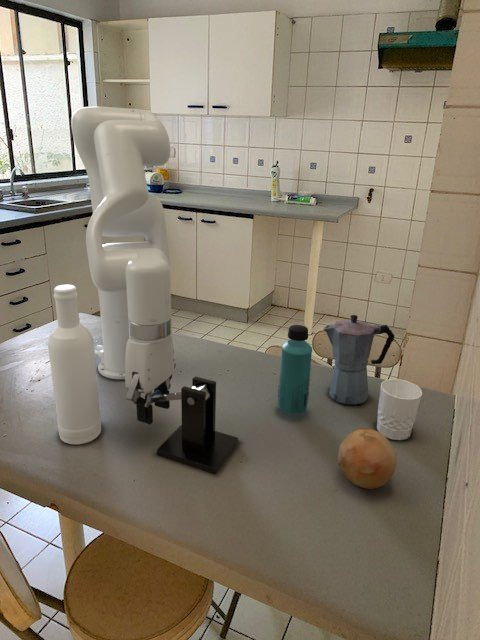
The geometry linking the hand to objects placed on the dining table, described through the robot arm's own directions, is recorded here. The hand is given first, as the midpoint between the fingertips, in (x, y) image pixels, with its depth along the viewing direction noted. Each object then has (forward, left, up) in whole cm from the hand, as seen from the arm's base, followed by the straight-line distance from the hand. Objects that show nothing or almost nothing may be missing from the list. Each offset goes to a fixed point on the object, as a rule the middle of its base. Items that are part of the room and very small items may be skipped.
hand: (153, 413), depth 89 cm
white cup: (+43, +23, -5) cm, 49 cm away
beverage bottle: (+22, +20, -5) cm, 30 cm away
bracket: (+10, 0, -5) cm, 11 cm away
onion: (+40, +5, -5) cm, 40 cm away
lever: (+5, 0, +4) cm, 7 cm away
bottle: (-13, -6, -5) cm, 15 cm away
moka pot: (+32, +33, -5) cm, 46 cm away
